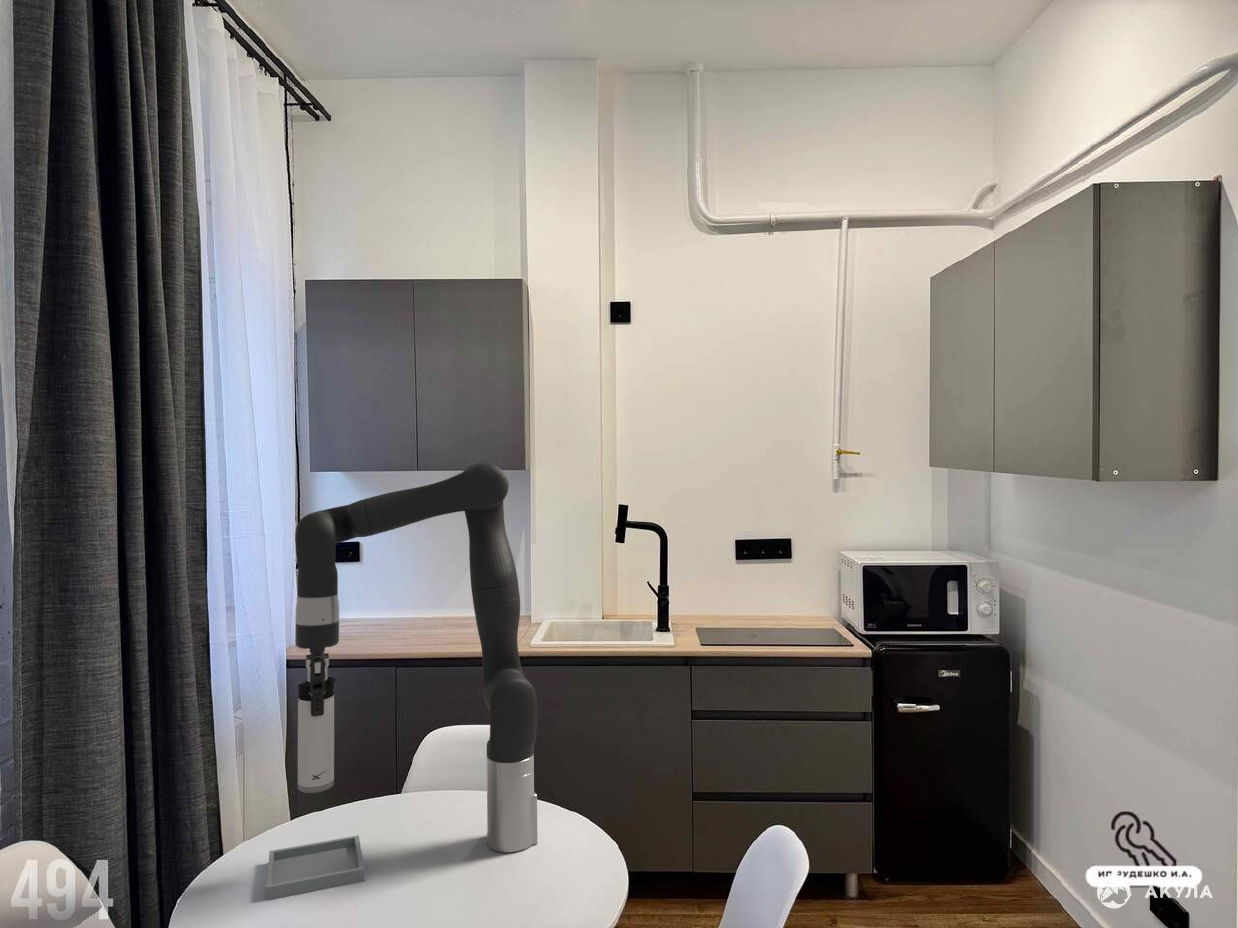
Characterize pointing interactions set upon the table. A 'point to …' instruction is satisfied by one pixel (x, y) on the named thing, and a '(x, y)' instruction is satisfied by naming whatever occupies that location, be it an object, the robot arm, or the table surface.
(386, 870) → the table surface
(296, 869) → the tray
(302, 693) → the travel mug
